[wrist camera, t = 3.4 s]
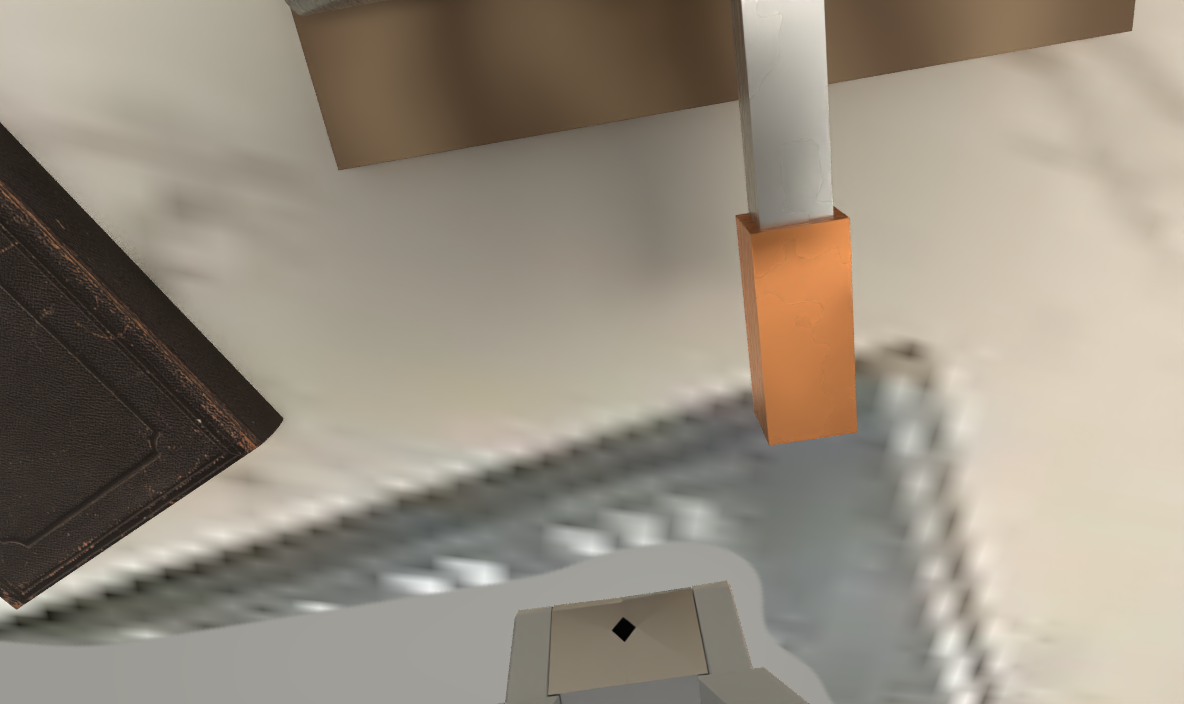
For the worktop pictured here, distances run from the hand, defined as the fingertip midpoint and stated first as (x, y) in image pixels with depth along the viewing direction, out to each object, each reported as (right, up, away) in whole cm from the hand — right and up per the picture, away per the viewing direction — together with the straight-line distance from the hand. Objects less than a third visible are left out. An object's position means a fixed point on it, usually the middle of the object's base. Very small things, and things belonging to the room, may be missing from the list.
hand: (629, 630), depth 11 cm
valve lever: (+4, +10, +9) cm, 14 cm away
